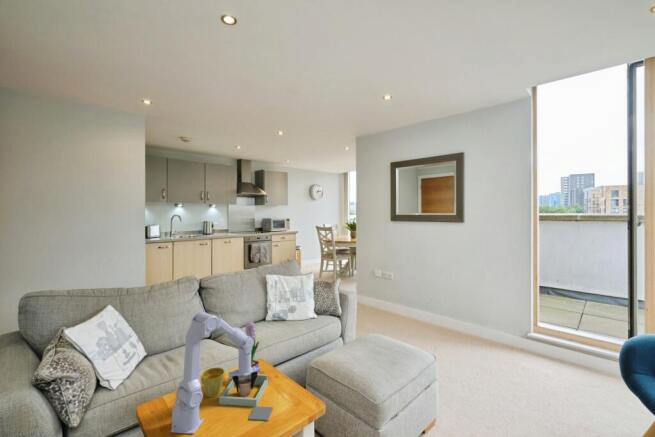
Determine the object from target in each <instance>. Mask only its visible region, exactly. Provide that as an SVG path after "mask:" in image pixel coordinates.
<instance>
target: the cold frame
mask: <svg viewBox="0 0 655 437" xmlns="http://www.w3.org/2000/svg"><path fill="white" fill-rule="evenodd" d="M243 378H250V379H251V374H248V376H238V379H239V380H241V379H243ZM268 381H269V376H268V374H265V373H264V374H262V373H261V374H260V373H258V375H257V378H256V380H255V383H254V386H260V388H259V390H258V392H257V394H256V396H255V397H240V396H239V397H238V396H229V394H230V393H231V392H232V390H233V389H234V388H235V387H236V385H235V383H234V381H233V379H232V380H231V381H230V382H229V384H228V385H227V387H226V388H225V389H224V391H222V394H221V395H220V396H219V398H218V399H219V400H218V403H219V405H227V406H228V405H229V406H243V407H255V406H259V405H258V404H259V402H260V400H261V399H262V396H264V393H265V391H266V389H267V387H268V383H269V382H268ZM250 386H251V384H250Z"/></svg>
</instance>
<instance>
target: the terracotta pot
mask: <svg viewBox="0 0 655 437" xmlns="http://www.w3.org/2000/svg"><path fill="white" fill-rule="evenodd" d="M250 384H251V379H250V378H243V379H241V380H239V385H238V387H239V392H238V395H239V397H243V398H248V397H249V396H250V395H251V385H250Z"/></svg>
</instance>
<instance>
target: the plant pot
mask: <svg viewBox="0 0 655 437" xmlns="http://www.w3.org/2000/svg"><path fill="white" fill-rule="evenodd" d="M200 376H201V377H200V378H201V380H200V381H201V382H200V383H201V385H203V390H204V395H205V396H206V397H208V398H215V397H217V396H219V395H220V394H221V391H222V386H223V383H224V380H225V379H226V370H225V369H224V368H222V367H216V366H215V367H211V368H208V369H207V368H206V370H204V371H203V372H202V373H201V375H200Z"/></svg>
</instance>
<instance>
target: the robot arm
mask: <svg viewBox="0 0 655 437" xmlns="http://www.w3.org/2000/svg"><path fill="white" fill-rule="evenodd" d="M241 329H242V328H241V327H239V326H237V327H236V326H233V327H232V326H231V325H230V324H228V323H227V322H226V321H225V320H224V319H222V318H221V317H218V316H217V315H214V314H211V313H207V312H206V311H203V310H202V311H198V312H197V313H196V314H194V316H193V317H191V323H190V326H189V328H188V330H187V333H186V334H185V346H184V347H185V348H184V362H183V363H184V364H183V379H182V380H181V381H180V382H179V383H178V389H177V391H176V394H175V397H176V399H177V400H179V403H177V404H176V403H175V404H176V405H175V404H174V407H173V409H172V412H171V430H170V433H178V434H188V435H189V434H190V435H191V434H192V435H194V434H195V433H196V431H197V430H198V429H199V427H200V426H201V425H202V423H203V422H204V421H205V419H204V418H200V404H201V402H202V401H203V397H204V394H203V391H202V384H201V382H200V380H199V372H200V370H199V369H200V358H201V357H200V356H201V355H200V352H201V340H202V339H203V338H205V337H206V336H208V335H210V333H212V332H213V331H215V330H220V331H221V332H223V333H225V334H226V336H227V339H228V340H229V341H231V342H232V343H234V344H235V345H236V347H238V369H236V370H233V371H230V372H228V379H232V380H233V381H234V383H235V388H236V393H238V394H239V379H238V376H248V374H251V385H250V391H251V390H254V386H255V385H254V383H255V380H256V378H257V375H258V374H260V373H261V372H262V367H261V366H258V367H251V351H252V347H253V344H254V341H253V339H252V337H250V336H247V335H246V334H247V332H246V331H245V332H244V331H242V330H241ZM257 372H258V374H257Z"/></svg>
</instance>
